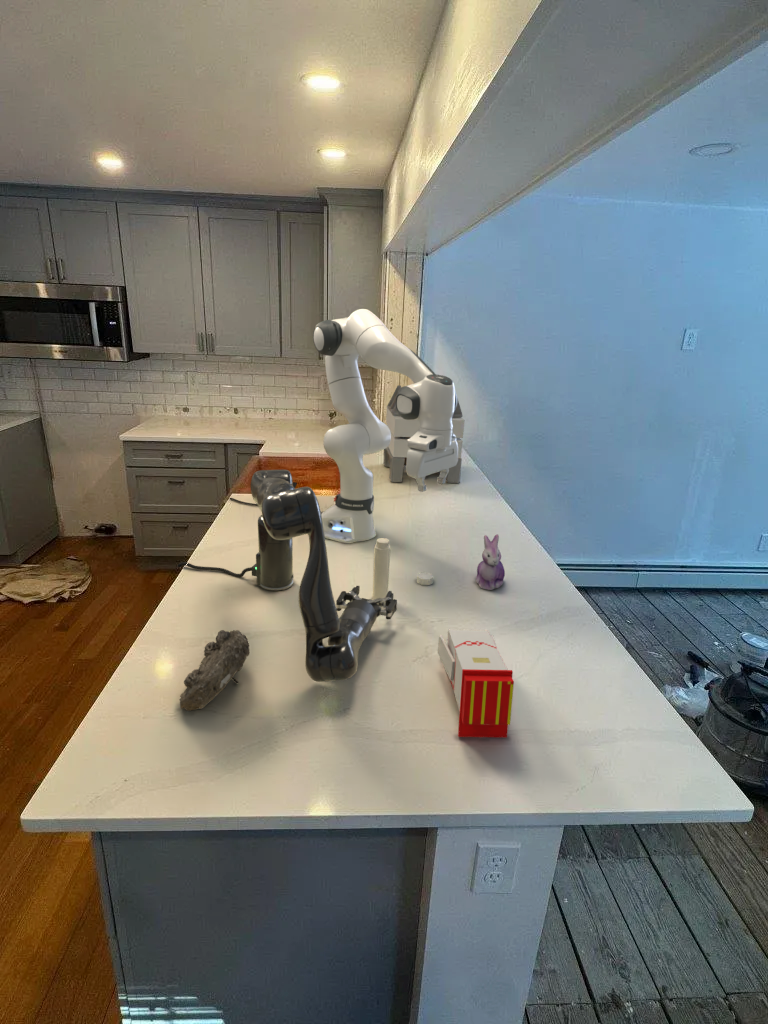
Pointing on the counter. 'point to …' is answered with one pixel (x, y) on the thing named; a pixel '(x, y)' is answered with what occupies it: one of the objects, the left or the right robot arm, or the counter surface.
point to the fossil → (215, 669)
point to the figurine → (490, 565)
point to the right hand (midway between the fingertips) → (431, 487)
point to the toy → (478, 682)
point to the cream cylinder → (381, 568)
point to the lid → (424, 578)
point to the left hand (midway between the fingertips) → (374, 591)
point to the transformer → (406, 429)
